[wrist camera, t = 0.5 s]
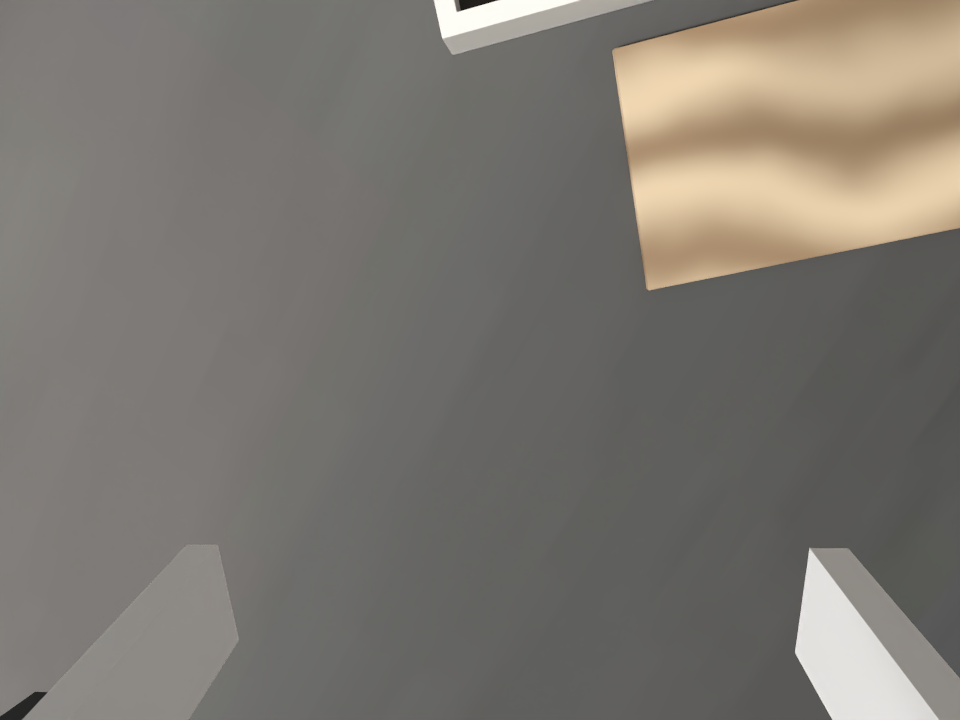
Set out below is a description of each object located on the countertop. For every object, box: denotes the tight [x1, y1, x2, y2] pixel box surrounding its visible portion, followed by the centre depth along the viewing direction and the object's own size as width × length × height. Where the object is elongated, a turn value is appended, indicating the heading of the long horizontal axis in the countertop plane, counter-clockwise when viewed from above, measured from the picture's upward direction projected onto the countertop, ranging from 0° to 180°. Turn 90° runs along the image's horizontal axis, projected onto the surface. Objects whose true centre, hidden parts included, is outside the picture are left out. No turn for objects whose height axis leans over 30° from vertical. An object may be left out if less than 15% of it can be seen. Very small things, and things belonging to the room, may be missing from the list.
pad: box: [612, 0, 960, 290], centre depth 33 cm, size 14×22×1 cm, turn 103°
